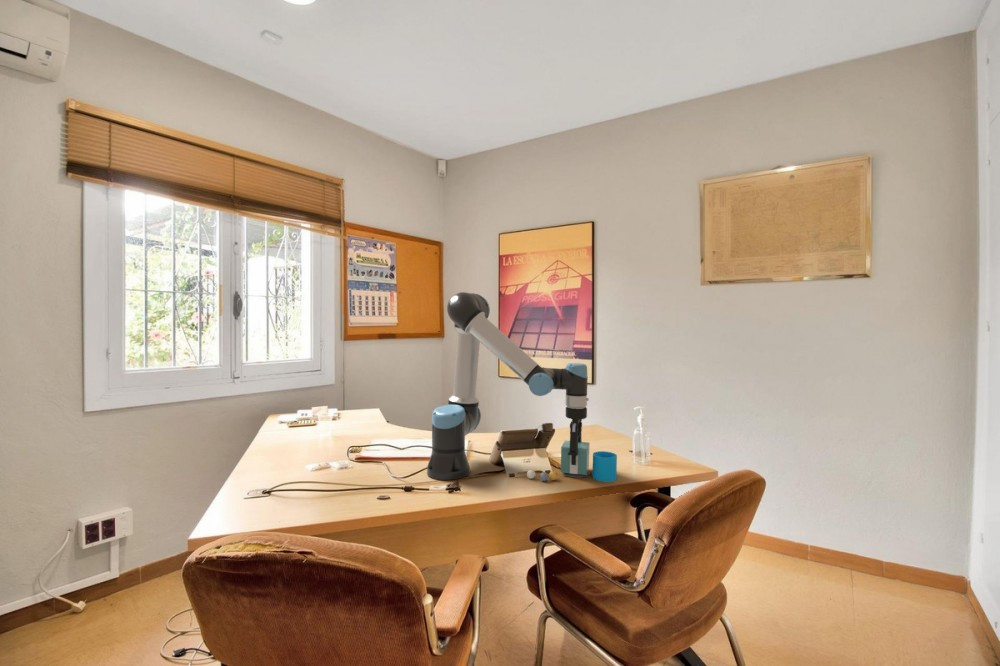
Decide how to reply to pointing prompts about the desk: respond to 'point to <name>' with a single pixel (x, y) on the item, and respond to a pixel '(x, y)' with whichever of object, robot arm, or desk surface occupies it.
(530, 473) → the marble white
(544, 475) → the marble slate
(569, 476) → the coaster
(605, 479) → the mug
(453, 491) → the desk surface
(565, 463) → the matte teal cube
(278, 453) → the desk surface
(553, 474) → the marble amber
